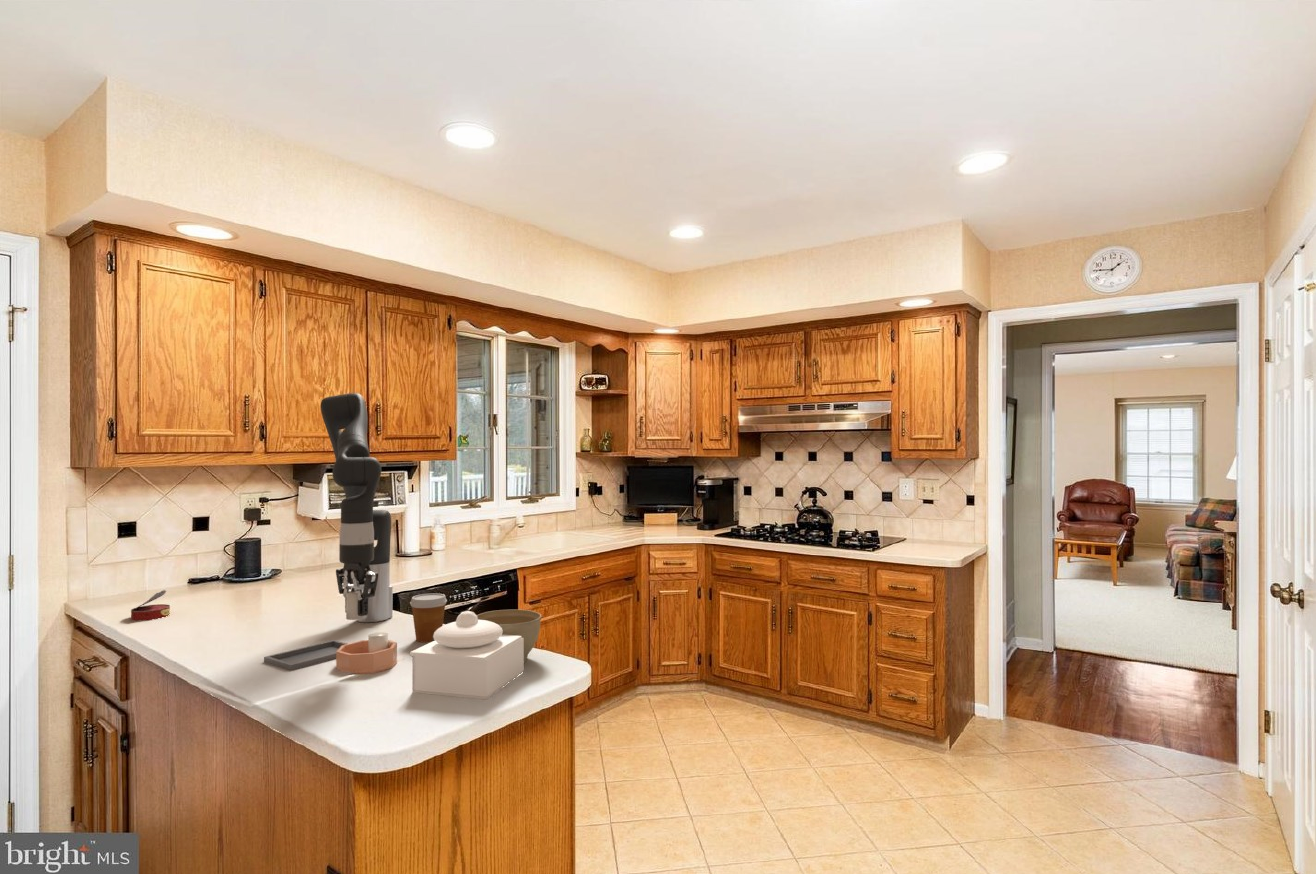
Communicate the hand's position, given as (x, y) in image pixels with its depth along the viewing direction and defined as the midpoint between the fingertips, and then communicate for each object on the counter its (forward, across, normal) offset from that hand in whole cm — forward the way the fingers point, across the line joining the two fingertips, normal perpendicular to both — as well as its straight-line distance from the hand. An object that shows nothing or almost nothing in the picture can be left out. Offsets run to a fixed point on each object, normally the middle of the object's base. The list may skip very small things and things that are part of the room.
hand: (356, 613), depth 165 cm
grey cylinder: (+1, 0, 0) cm, 1 cm away
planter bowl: (+13, -26, -24) cm, 37 cm away
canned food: (+13, +102, +4) cm, 103 cm away
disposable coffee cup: (+13, +6, -25) cm, 29 cm away
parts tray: (+13, +16, +1) cm, 21 cm away
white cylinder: (+12, 0, -6) cm, 13 cm away
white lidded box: (+13, -30, -8) cm, 34 cm away
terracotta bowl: (+13, 0, -3) cm, 13 cm away
